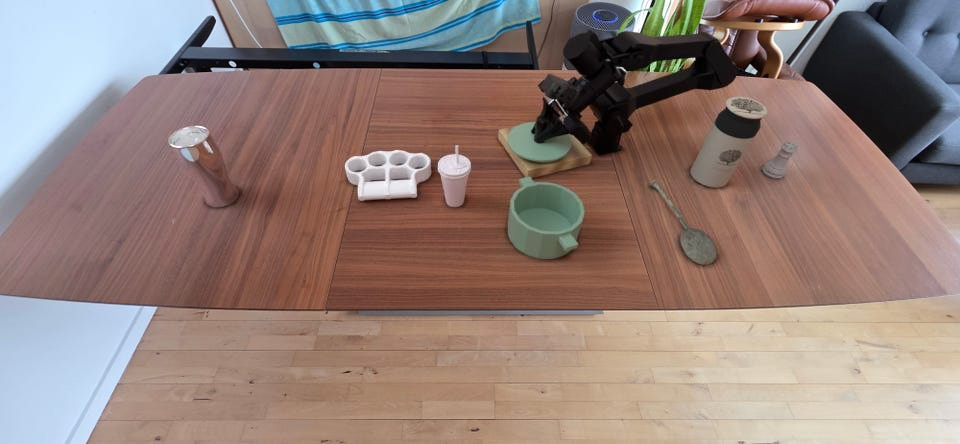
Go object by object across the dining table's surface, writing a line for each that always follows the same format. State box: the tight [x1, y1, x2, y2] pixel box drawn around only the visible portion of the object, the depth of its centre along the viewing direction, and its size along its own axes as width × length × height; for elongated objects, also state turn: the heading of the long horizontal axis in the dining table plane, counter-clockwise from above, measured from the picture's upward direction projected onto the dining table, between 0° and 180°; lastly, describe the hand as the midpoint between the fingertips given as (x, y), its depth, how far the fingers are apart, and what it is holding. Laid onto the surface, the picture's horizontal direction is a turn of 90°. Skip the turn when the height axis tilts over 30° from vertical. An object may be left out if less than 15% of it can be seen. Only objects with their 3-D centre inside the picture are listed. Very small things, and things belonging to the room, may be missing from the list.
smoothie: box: [437, 144, 472, 208], centre depth 83 cm, size 6×6×14 cm
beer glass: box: [167, 125, 240, 208], centre depth 82 cm, size 7×7×15 cm
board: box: [497, 125, 593, 179], centre depth 100 cm, size 16×16×2 cm
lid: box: [508, 115, 571, 162], centre depth 95 cm, size 14×14×7 cm
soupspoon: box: [649, 179, 718, 266], centre depth 85 cm, size 22×3×7 cm
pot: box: [507, 176, 586, 260], centre depth 81 cm, size 13×19×7 cm
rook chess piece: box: [762, 140, 799, 180], centre depth 95 cm, size 4×4×8 cm
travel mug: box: [689, 96, 768, 188], centre depth 90 cm, size 8×8×18 cm
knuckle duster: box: [344, 149, 432, 202], centre depth 91 cm, size 3×18×15 cm
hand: (534, 136), depth 96 cm, fingers closed on lid, 2 cm apart
